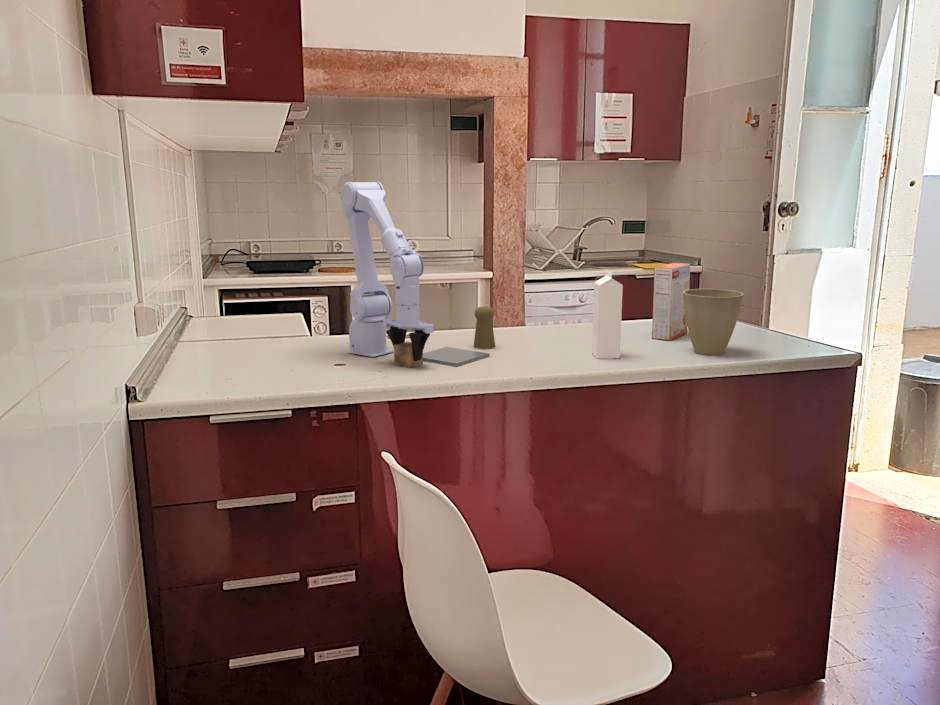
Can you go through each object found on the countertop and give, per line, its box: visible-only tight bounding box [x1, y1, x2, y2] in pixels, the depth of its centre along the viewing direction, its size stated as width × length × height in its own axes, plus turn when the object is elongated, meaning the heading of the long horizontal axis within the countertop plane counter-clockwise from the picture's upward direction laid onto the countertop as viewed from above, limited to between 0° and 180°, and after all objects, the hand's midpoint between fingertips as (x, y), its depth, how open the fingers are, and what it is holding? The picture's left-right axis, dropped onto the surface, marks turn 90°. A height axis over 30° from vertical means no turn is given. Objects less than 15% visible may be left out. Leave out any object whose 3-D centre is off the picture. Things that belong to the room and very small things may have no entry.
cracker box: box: [651, 262, 691, 341], centre depth 218 cm, size 14×6×21 cm, turn 144°
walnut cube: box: [393, 341, 424, 368], centre depth 185 cm, size 5×5×5 cm
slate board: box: [423, 346, 490, 368], centre depth 193 cm, size 14×14×1 cm
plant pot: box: [683, 288, 744, 356], centre depth 197 cm, size 15×15×16 cm
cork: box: [473, 306, 496, 350], centre depth 205 cm, size 6×6×11 cm
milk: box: [591, 269, 624, 360], centre depth 192 cm, size 6×6×22 cm
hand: (408, 358), depth 186 cm, fingers closed on walnut cube, 5 cm apart
